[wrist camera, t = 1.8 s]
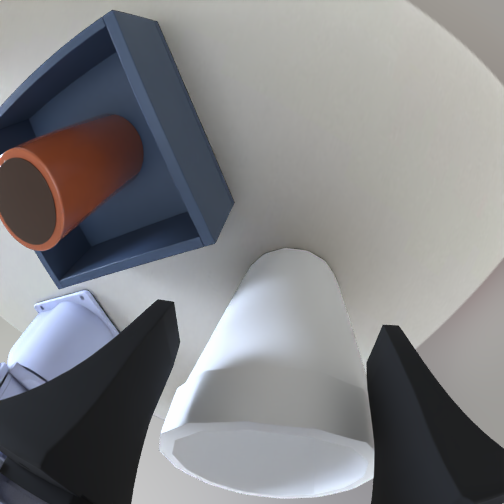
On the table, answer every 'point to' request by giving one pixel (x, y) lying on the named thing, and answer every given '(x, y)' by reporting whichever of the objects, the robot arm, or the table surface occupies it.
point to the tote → (153, 140)
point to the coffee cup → (66, 177)
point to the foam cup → (277, 389)
